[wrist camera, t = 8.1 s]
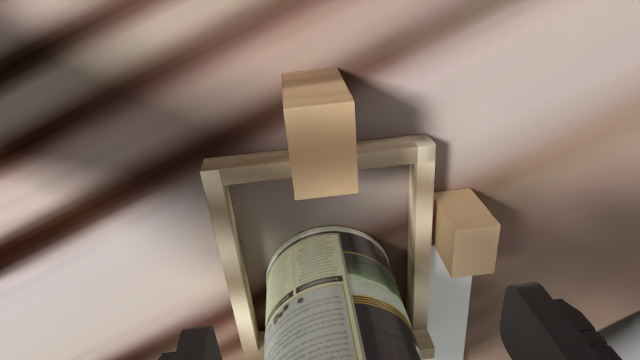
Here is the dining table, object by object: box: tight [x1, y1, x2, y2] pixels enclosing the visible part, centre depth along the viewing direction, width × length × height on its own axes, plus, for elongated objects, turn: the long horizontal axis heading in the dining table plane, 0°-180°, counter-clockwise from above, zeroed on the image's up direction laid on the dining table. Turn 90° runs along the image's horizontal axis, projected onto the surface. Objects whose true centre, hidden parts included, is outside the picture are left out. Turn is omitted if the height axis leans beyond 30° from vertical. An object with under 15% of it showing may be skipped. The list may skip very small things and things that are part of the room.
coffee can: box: [264, 226, 424, 360], centre depth 29 cm, size 10×10×14 cm
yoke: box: [200, 68, 436, 360], centre depth 29 cm, size 23×15×7 cm, turn 5°
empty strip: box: [425, 188, 501, 360], centre depth 35 cm, size 22×4×5 cm, turn 5°
